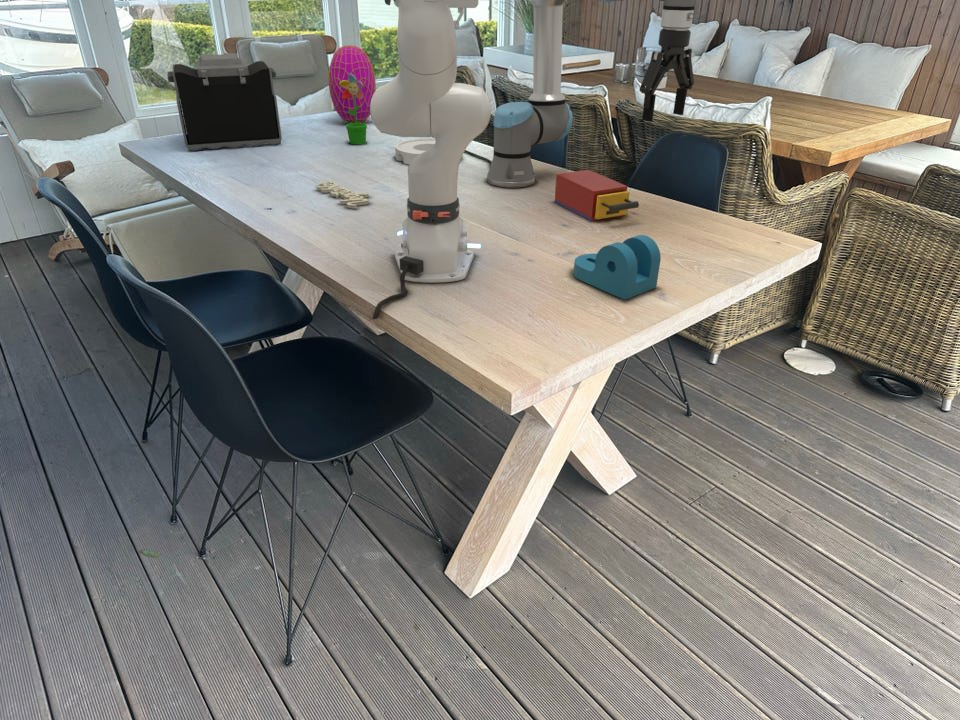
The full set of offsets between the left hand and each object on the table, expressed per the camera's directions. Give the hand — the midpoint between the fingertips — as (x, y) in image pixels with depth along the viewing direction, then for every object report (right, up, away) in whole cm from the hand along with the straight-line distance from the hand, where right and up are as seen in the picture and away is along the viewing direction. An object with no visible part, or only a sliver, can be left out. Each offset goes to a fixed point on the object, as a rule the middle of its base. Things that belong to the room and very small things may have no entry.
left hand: (436, 28), depth 167 cm
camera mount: (+39, -63, -13) cm, 75 cm away
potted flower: (-36, +2, +95) cm, 102 cm away
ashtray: (-8, -9, +77) cm, 78 cm away
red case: (+42, -37, +30) cm, 63 cm away
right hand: (+59, -16, +15) cm, 63 cm away
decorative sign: (-30, -31, +38) cm, 58 cm away
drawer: (+44, -39, +26) cm, 64 cm away
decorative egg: (-43, +21, +127) cm, 135 cm away
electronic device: (-83, +2, +94) cm, 126 cm away
